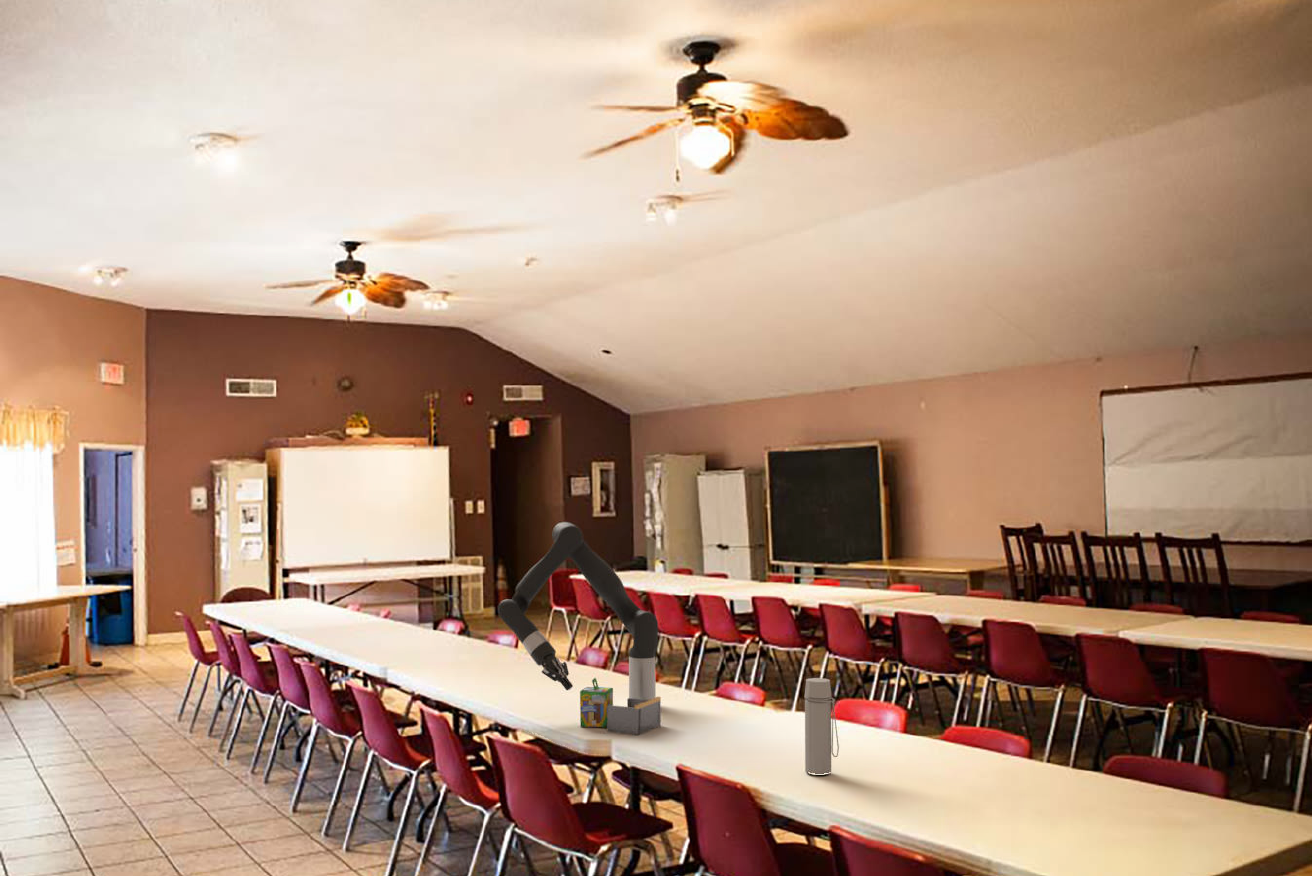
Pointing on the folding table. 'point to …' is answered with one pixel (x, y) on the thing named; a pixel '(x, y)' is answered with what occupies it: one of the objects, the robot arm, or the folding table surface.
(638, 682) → the robot arm
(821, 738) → the water bottle
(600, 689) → the chalk box
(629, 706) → the grey rectangular box
